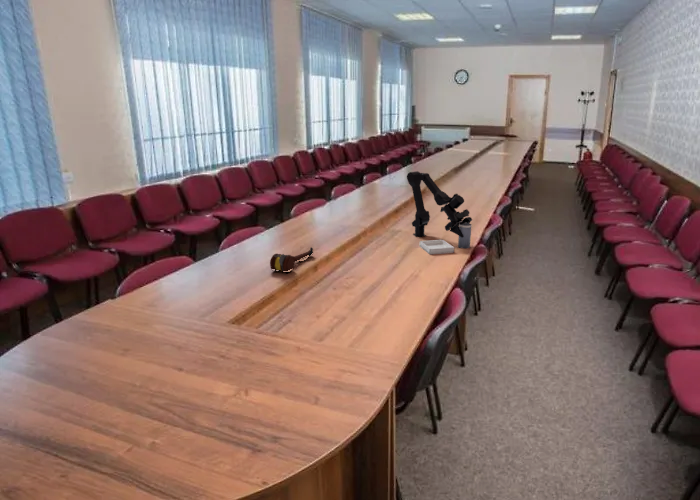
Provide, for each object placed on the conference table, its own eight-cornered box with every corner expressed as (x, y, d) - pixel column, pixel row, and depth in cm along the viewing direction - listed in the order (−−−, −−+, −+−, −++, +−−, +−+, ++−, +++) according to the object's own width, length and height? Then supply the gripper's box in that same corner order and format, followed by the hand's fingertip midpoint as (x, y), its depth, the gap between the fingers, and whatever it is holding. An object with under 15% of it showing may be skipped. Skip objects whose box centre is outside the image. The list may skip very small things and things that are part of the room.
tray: (419, 246, 273) (419, 241, 272) (442, 244, 276) (442, 239, 275) (429, 254, 258) (429, 249, 257) (453, 252, 261) (454, 247, 260)
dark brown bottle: (303, 259, 261) (319, 261, 256) (265, 273, 230) (283, 276, 226) (303, 241, 259) (319, 243, 254) (265, 253, 228) (283, 255, 224)
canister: (455, 245, 274) (457, 223, 270) (466, 244, 275) (468, 222, 271) (460, 248, 267) (462, 226, 264) (472, 248, 269) (473, 225, 265)
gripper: (450, 207, 261) (465, 230, 257) (470, 202, 273) (485, 225, 268) (438, 219, 269) (453, 242, 265) (458, 214, 281) (473, 235, 276)
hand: (466, 235), depth 268 cm, fingers closed on canister, 7 cm apart
